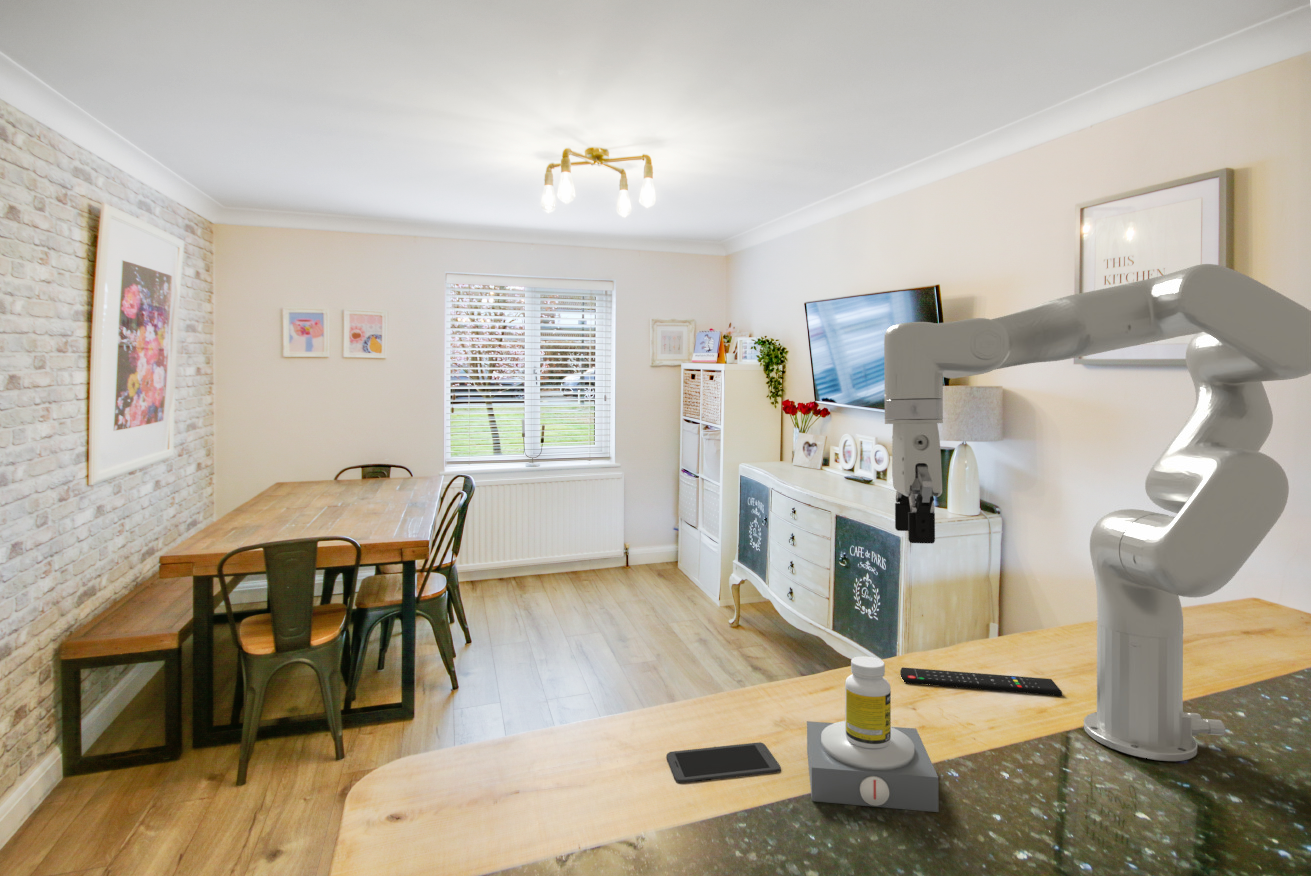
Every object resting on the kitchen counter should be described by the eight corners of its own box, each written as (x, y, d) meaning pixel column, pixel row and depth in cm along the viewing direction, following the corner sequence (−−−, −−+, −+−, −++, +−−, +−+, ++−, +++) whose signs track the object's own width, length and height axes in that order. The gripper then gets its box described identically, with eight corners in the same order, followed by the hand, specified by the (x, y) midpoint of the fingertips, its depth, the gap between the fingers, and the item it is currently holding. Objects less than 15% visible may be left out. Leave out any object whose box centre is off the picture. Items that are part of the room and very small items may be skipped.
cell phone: (783, 774, 84) (783, 768, 84) (676, 786, 81) (676, 780, 81) (763, 746, 91) (763, 741, 91) (664, 757, 88) (664, 751, 88)
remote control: (1061, 699, 105) (1061, 691, 105) (902, 686, 111) (902, 678, 111) (1051, 686, 110) (1051, 678, 110) (898, 674, 116) (898, 666, 116)
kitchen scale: (916, 758, 86) (916, 722, 86) (939, 815, 74) (939, 773, 74) (807, 750, 89) (806, 715, 89) (812, 803, 76) (811, 763, 76)
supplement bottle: (894, 751, 79) (893, 670, 78) (847, 748, 80) (846, 668, 79) (887, 731, 84) (886, 654, 84) (843, 727, 85) (842, 652, 85)
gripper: (959, 412, 82) (959, 549, 82) (927, 413, 99) (928, 526, 99) (896, 413, 83) (896, 547, 84) (875, 414, 100) (876, 526, 101)
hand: (913, 536), depth 91 cm, fingers open, 9 cm apart
